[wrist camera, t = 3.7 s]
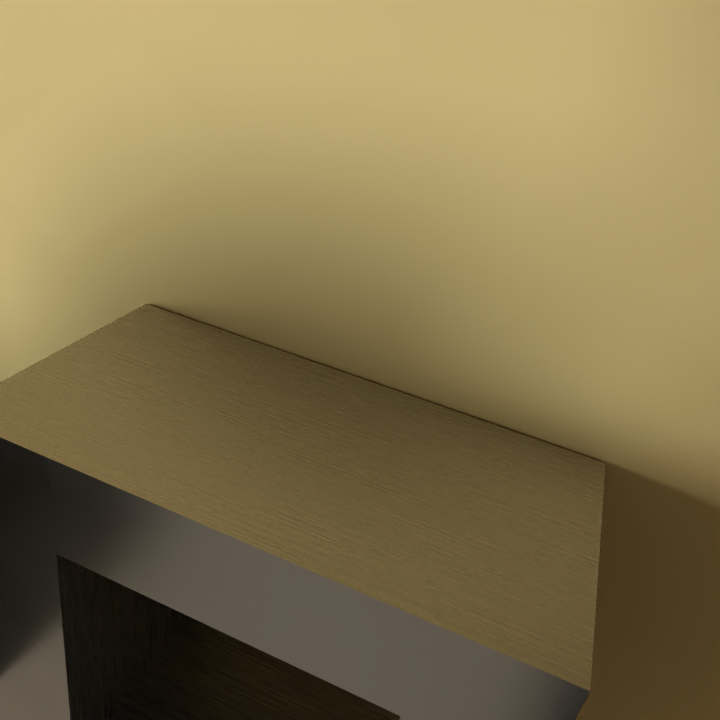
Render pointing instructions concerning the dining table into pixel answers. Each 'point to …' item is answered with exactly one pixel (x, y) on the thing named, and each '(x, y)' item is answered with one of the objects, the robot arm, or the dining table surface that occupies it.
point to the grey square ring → (280, 542)
